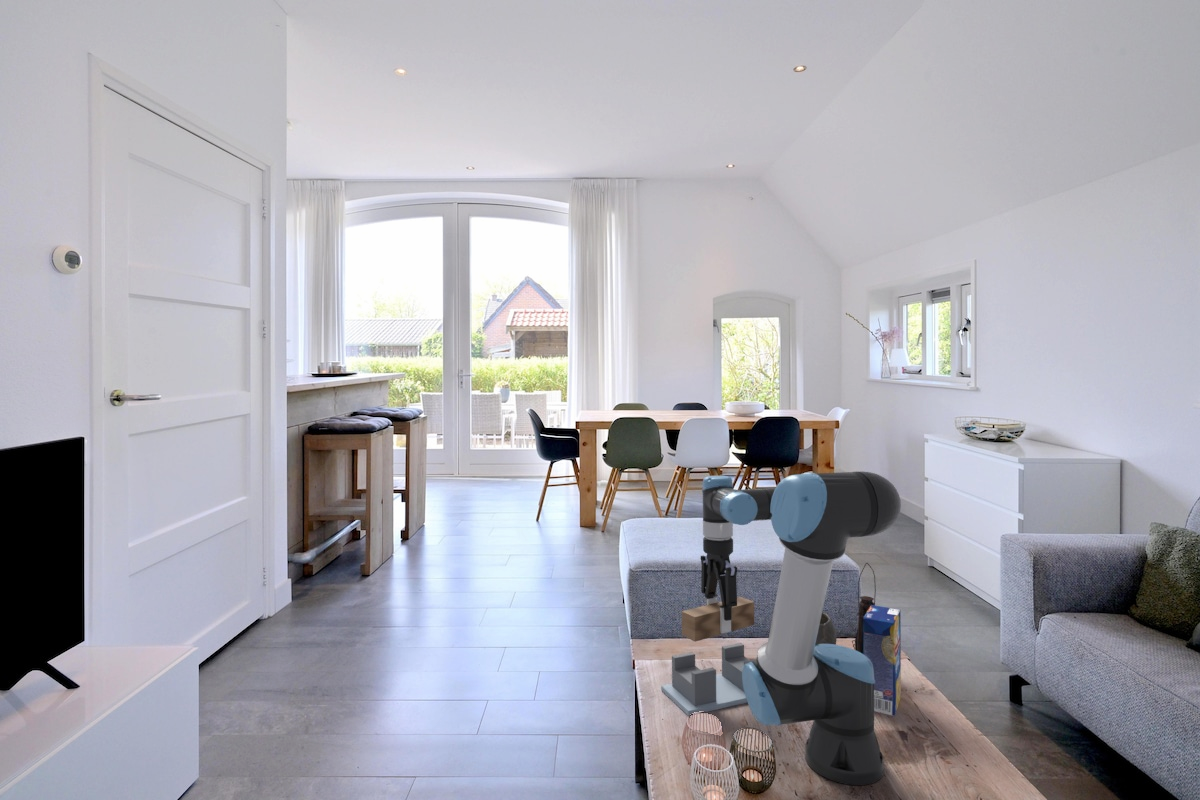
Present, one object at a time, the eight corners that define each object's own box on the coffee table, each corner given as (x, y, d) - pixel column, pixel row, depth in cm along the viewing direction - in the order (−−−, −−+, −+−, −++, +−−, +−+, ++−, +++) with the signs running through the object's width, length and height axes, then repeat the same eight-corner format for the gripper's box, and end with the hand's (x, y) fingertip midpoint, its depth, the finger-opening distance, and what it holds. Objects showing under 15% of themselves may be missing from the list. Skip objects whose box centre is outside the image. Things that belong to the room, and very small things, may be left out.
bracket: (778, 695, 159) (778, 659, 159) (688, 715, 150) (688, 678, 150) (746, 672, 172) (745, 639, 172) (661, 690, 163) (660, 655, 162)
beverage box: (900, 697, 158) (900, 609, 157) (894, 716, 148) (894, 623, 148) (871, 690, 161) (871, 604, 161) (863, 708, 152) (863, 618, 152)
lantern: (886, 680, 167) (886, 567, 166) (854, 678, 168) (853, 566, 168) (879, 667, 174) (879, 559, 174) (848, 665, 176) (848, 558, 176)
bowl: (846, 672, 172) (846, 626, 171) (779, 673, 172) (779, 626, 172) (823, 646, 189) (823, 604, 189) (763, 646, 190) (763, 604, 189)
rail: (740, 619, 168) (740, 596, 168) (754, 624, 164) (754, 601, 164) (681, 635, 158) (681, 611, 157) (695, 641, 153) (694, 617, 153)
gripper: (752, 543, 153) (752, 638, 153) (711, 528, 170) (712, 614, 171) (725, 546, 150) (726, 643, 151) (686, 531, 168) (687, 617, 168)
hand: (718, 627), depth 161 cm, fingers closed on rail, 6 cm apart
